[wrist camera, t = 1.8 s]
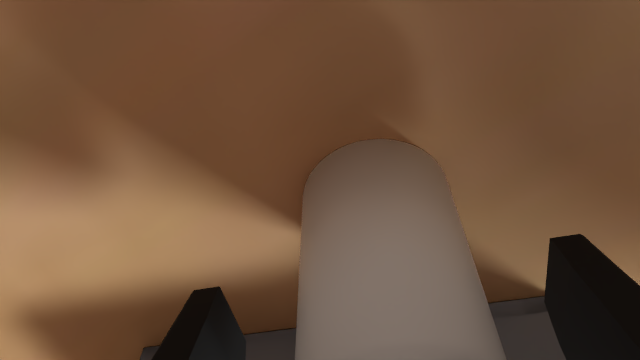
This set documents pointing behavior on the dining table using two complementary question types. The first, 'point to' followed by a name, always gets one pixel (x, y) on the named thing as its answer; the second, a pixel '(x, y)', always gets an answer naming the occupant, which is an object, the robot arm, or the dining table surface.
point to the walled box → (509, 317)
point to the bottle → (387, 262)
